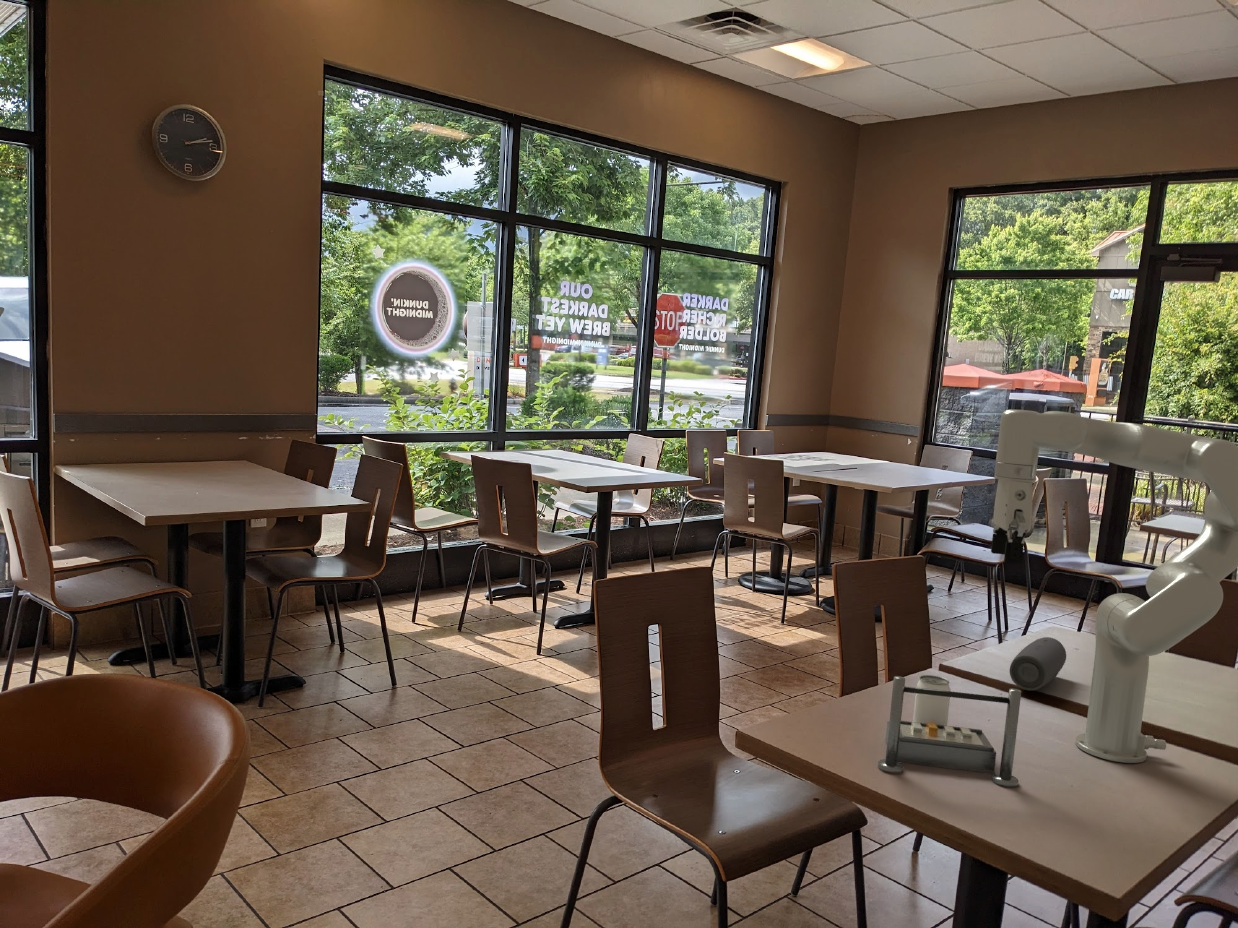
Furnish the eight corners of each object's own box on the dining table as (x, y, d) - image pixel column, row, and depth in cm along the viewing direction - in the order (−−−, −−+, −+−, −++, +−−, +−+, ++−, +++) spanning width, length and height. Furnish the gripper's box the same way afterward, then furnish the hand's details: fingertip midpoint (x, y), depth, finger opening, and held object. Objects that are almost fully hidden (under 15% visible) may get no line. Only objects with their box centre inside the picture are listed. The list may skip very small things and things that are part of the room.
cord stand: (1014, 778, 172) (1024, 687, 170) (1021, 788, 168) (1031, 695, 166) (876, 762, 175) (885, 672, 174) (879, 771, 171) (888, 680, 169)
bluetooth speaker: (1026, 669, 242) (1031, 631, 241) (1066, 678, 237) (1070, 639, 236) (1004, 690, 224) (1008, 648, 223) (1046, 700, 218) (1051, 658, 217)
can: (947, 746, 186) (953, 686, 184) (913, 741, 187) (919, 682, 186) (943, 734, 192) (949, 676, 191) (909, 730, 193) (915, 672, 192)
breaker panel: (980, 752, 184) (983, 723, 183) (993, 773, 174) (997, 742, 173) (885, 741, 186) (888, 712, 185) (893, 761, 176) (896, 731, 176)
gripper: (1049, 478, 178) (1038, 568, 180) (1022, 470, 195) (1013, 552, 197) (1007, 475, 179) (997, 564, 180) (984, 467, 196) (975, 548, 198)
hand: (1005, 558), depth 189 cm, fingers open, 9 cm apart
